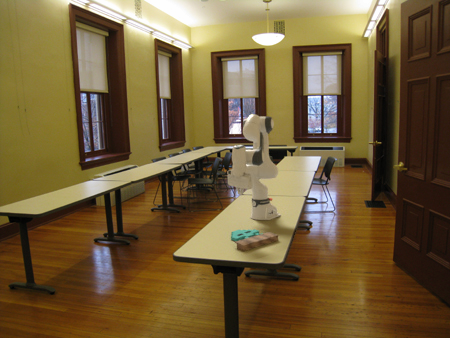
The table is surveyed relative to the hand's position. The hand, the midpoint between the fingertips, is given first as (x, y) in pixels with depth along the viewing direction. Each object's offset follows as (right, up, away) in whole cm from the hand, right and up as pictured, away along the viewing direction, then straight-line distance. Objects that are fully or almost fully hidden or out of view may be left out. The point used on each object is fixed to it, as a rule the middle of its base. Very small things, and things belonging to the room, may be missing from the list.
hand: (240, 194), depth 221 cm
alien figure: (+4, -26, -1) cm, 26 cm away
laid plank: (+9, -27, -15) cm, 32 cm away
